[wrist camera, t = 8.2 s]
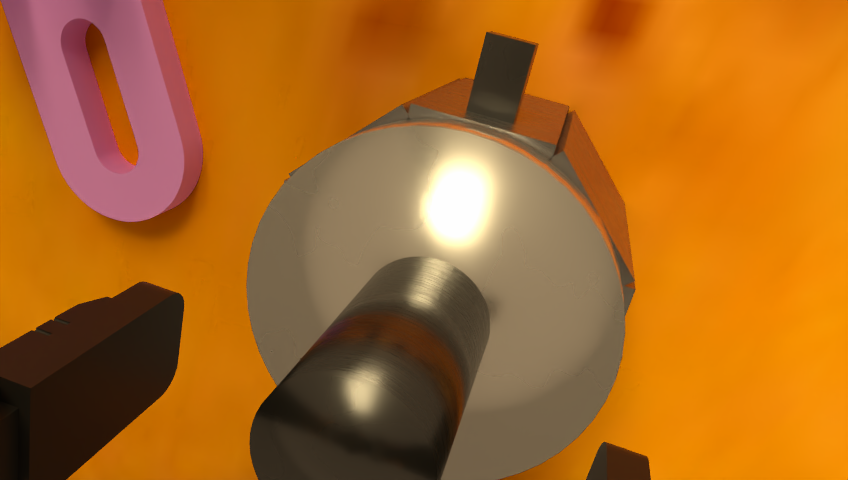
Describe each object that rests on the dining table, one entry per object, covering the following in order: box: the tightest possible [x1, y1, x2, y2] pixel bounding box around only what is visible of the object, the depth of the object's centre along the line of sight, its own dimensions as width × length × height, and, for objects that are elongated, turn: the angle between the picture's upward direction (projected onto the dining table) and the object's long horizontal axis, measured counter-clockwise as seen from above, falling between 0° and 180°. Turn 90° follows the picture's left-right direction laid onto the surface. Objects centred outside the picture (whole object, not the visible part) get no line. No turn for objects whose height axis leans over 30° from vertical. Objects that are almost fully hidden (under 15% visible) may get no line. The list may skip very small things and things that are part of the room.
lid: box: [247, 118, 625, 480], centre depth 14 cm, size 9×9×7 cm
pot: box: [284, 31, 635, 315], centre depth 20 cm, size 13×9×7 cm
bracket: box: [1, 0, 203, 222], centre depth 22 cm, size 13×6×7 cm, turn 11°
